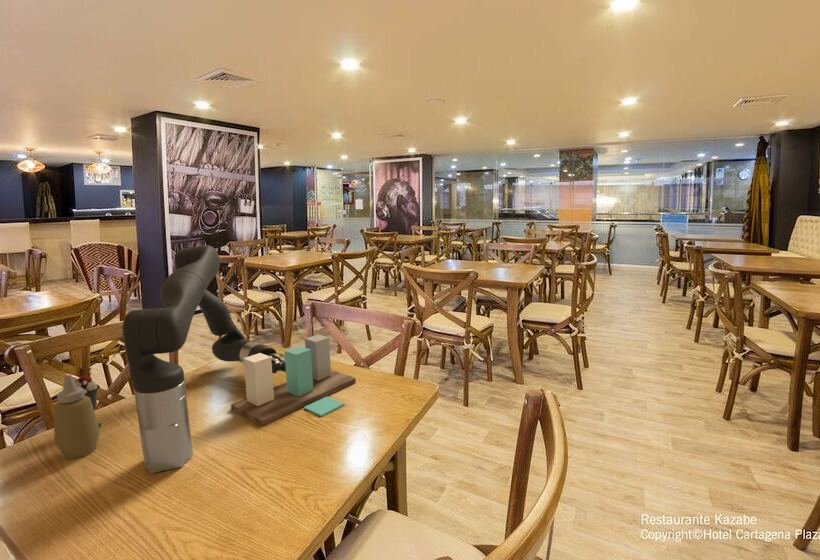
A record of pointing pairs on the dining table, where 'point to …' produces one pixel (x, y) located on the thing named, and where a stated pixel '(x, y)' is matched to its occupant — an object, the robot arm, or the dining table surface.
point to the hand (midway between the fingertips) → (293, 369)
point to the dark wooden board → (291, 399)
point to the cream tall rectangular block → (258, 379)
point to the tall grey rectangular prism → (319, 356)
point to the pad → (324, 406)
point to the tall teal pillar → (299, 370)
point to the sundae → (88, 388)
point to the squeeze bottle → (74, 421)
